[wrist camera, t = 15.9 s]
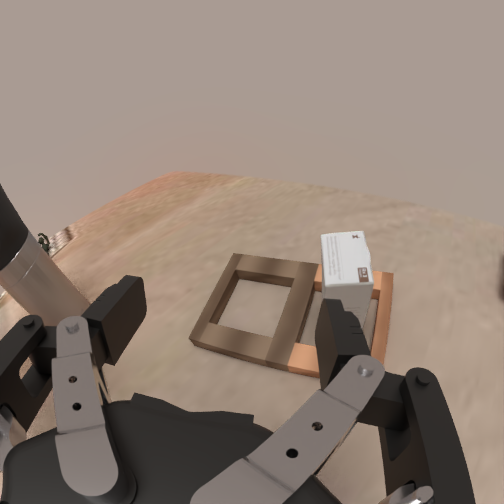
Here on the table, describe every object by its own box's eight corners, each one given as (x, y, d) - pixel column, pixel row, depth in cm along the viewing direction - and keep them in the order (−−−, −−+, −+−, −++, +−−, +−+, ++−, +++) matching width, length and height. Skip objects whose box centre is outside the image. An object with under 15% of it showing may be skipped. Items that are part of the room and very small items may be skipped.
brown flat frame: (194, 345, 34) (188, 338, 32) (237, 262, 42) (233, 253, 41) (376, 387, 25) (380, 382, 24) (391, 283, 33) (393, 273, 32)
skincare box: (321, 304, 34) (316, 231, 26) (357, 301, 33) (363, 227, 25) (322, 349, 30) (319, 285, 22) (361, 347, 29) (376, 281, 20)
